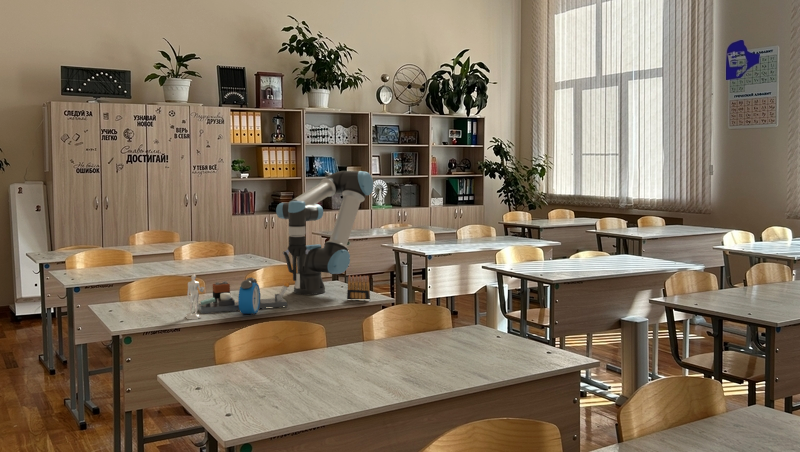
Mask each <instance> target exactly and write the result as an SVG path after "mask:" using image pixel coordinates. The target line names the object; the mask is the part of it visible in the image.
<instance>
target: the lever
mask: <svg viewBox="0 0 800 452" xmlns="http://www.w3.org/2000/svg"><path fill="white" fill-rule="evenodd" d="M289 287H290V282H289V281H285V282H283V286H282V288H281V290H280V292H279V293H278V294H279V295H281V296H282V298H283V297H284V295H285V293H286V291H287V289H288V288H289ZM279 295H278V296H279Z"/></svg>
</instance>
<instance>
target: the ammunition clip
mask: <svg viewBox="0 0 800 452" xmlns="http://www.w3.org/2000/svg"><path fill="white" fill-rule="evenodd" d="M346 294H347V295H346V300H347V299H370V300H371V291H370V279H369V275H367V276H366V275H363V276H362V275H361V274H360V275H359V277H358V275H357V274H356V275H354V274H352V276H351V275H350V274H348V278H347V291H346Z"/></svg>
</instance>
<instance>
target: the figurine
mask: <svg viewBox="0 0 800 452" xmlns="http://www.w3.org/2000/svg"><path fill="white" fill-rule="evenodd" d="M190 278H191V281H188V282H187V298H188V299H189V301H190V302H189V313H187V314H186V315H185V316H184V318H185V317H186V318H187V319H192V320H199V319H198V318H202V316H201V313H198V311H199V295H200V293H199V292H201V293H204V290H205V286H200V282H199V281H196V278H197V275H196V274H192V275H191V277H190ZM194 303H195V305H194V308H195V309H194V311H195V312H194V313H192V310H193V304H194ZM186 318H185V319H186ZM187 319H186V320H187Z"/></svg>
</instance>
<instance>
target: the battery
mask: <svg viewBox="0 0 800 452" xmlns="http://www.w3.org/2000/svg"><path fill="white" fill-rule="evenodd" d="M221 293H231V284H230V283H228V281H227V280H226V281H225V280H223V281H221V282H219V281H216V282H215V283H213V284H212V298H215V301H216V302H217V298H220V294H221ZM216 302H212V303H216Z"/></svg>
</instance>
